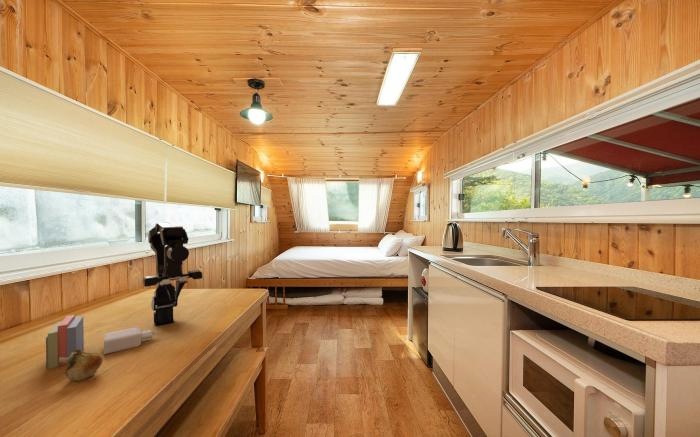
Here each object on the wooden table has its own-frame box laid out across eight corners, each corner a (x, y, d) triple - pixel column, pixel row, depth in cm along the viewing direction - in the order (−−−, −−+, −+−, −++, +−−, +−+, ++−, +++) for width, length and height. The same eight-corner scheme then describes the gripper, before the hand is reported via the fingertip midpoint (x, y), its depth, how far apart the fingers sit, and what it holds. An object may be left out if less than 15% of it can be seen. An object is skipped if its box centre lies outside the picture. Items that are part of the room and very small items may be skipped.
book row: (83, 348, 96) (83, 313, 96) (76, 362, 86) (75, 323, 86) (56, 353, 92) (55, 317, 92) (45, 369, 82) (44, 328, 82)
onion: (76, 388, 72) (76, 357, 72) (56, 383, 75) (56, 353, 75) (109, 372, 80) (108, 344, 80) (90, 368, 82) (89, 341, 82)
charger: (159, 342, 100) (103, 355, 90) (157, 334, 107) (105, 345, 98) (159, 329, 100) (103, 341, 90) (157, 322, 107) (105, 332, 98)
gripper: (194, 255, 118) (195, 291, 118) (139, 260, 105) (140, 301, 105) (202, 257, 110) (203, 296, 110) (144, 263, 97) (145, 307, 97)
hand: (174, 300), depth 106 cm, fingers closed
